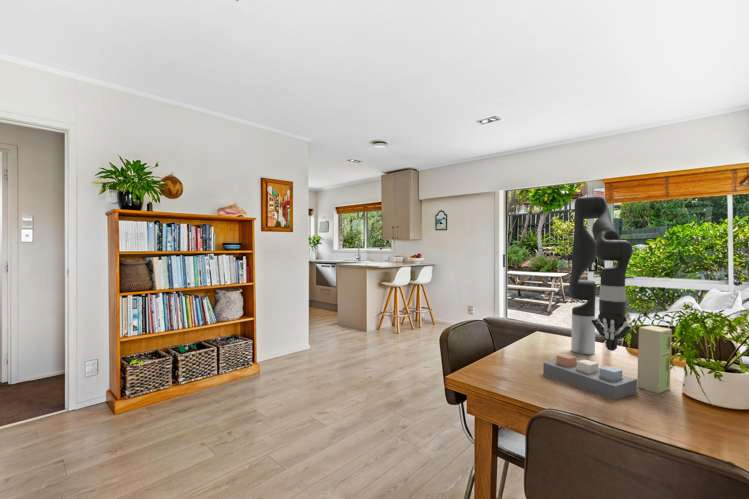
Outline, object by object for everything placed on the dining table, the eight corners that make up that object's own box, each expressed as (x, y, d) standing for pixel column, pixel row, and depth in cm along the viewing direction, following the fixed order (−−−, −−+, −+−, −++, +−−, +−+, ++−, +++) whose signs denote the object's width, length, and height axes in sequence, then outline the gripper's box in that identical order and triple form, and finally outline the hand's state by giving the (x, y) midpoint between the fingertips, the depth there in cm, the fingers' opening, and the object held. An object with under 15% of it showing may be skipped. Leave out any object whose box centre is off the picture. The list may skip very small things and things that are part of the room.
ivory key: (584, 370, 136) (585, 359, 136) (598, 374, 132) (598, 363, 132) (576, 372, 133) (577, 361, 133) (590, 376, 129) (590, 365, 129)
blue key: (607, 377, 129) (607, 365, 129) (622, 381, 125) (622, 370, 125) (599, 379, 126) (599, 367, 126) (614, 384, 122) (614, 372, 122)
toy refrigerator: (660, 394, 123) (662, 331, 123) (636, 386, 129) (638, 327, 129) (673, 390, 127) (674, 329, 126) (649, 383, 133) (650, 325, 133)
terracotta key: (564, 363, 143) (564, 353, 143) (576, 367, 139) (576, 356, 139) (556, 365, 140) (556, 355, 140) (568, 369, 136) (568, 358, 136)
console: (564, 369, 147) (564, 357, 147) (636, 392, 124) (637, 379, 124) (543, 374, 141) (543, 362, 141) (615, 400, 118) (615, 386, 118)
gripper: (639, 301, 121) (638, 353, 121) (598, 295, 133) (597, 344, 133) (627, 302, 117) (626, 356, 118) (586, 297, 129) (585, 346, 129)
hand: (611, 349), depth 125 cm, fingers closed
